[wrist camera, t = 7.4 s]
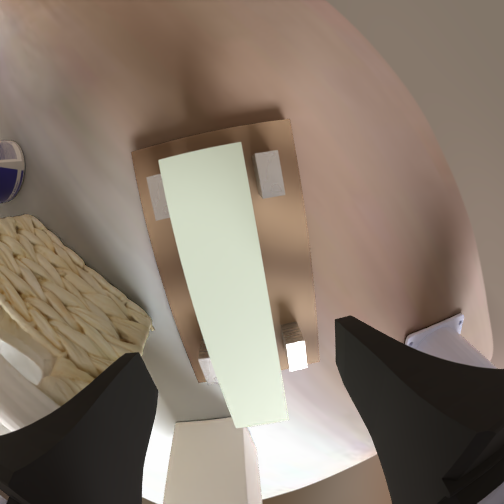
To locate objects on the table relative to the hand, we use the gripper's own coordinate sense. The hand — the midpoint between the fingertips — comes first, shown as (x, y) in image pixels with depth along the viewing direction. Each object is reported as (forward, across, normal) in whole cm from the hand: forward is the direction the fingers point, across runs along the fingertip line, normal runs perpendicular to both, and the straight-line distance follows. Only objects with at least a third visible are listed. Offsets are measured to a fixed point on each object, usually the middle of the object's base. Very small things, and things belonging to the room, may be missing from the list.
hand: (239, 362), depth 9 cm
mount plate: (+10, 0, 0) cm, 10 cm away
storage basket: (+11, +20, +4) cm, 23 cm away
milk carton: (+10, +6, +19) cm, 23 cm away
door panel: (+9, 0, 0) cm, 9 cm away
